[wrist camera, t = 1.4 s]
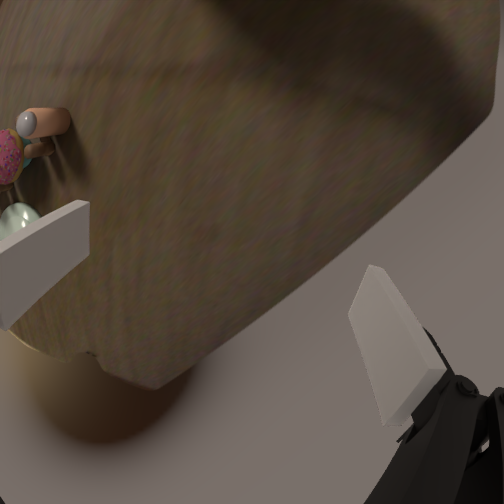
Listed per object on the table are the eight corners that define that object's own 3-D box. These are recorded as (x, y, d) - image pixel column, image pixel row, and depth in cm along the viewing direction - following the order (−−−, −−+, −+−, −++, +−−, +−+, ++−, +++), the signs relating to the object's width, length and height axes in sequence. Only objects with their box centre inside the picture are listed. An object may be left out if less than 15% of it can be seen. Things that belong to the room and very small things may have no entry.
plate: (-6, 220, 39) (-10, 223, 38) (31, 188, 36) (26, 190, 35) (25, 285, 44) (21, 289, 42) (66, 265, 41) (61, 268, 40)
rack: (-3, 155, 34) (-23, 161, 30) (43, 110, 32) (21, 111, 27) (9, 190, 37) (-11, 198, 32) (56, 150, 34) (34, 154, 29)
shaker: (48, 117, 32) (11, 119, 25) (66, 102, 31) (29, 102, 24) (55, 139, 33) (19, 145, 26) (73, 125, 33) (37, 129, 25)
